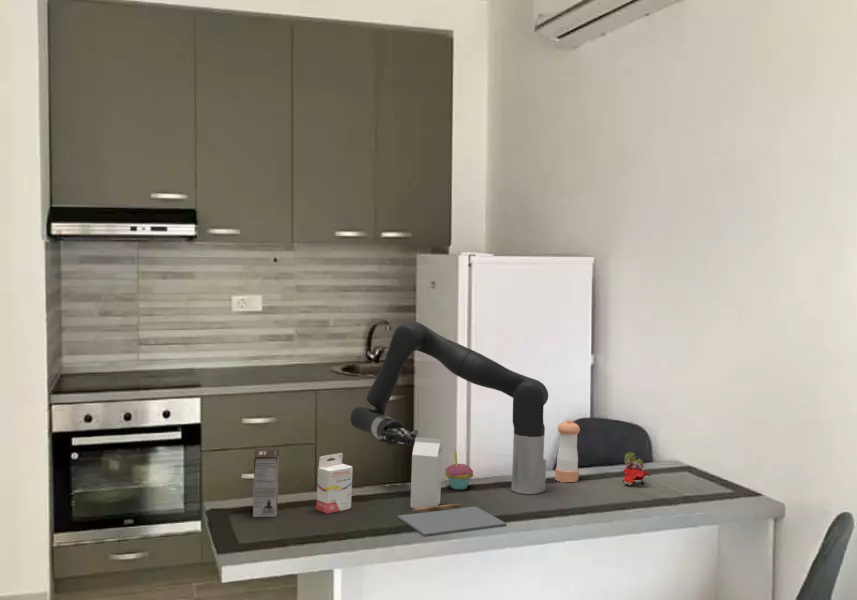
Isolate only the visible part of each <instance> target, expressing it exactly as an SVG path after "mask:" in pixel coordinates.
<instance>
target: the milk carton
mask: <svg viewBox="0 0 857 600" xmlns="http://www.w3.org/2000/svg"><path fill="white" fill-rule="evenodd" d="M442 455H443V449H442V445H441V439H440V438H439V439H438V438H427V437H426V438H425V437H418V438H415V444H414V446H413V449H412V455H411V476H410V477H411V478H410V480H411V481H410V508H411V509H415V508H424V507H433V506H440V504H441V487H442V482H441V481H442V462H443V461H442V458H443V456H442Z"/></svg>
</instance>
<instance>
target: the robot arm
mask: <svg viewBox="0 0 857 600" xmlns="http://www.w3.org/2000/svg"><path fill="white" fill-rule="evenodd" d="M417 351H418V352H419V353H424V354H425V355H428V356H431V357H432V358H434V359H436V360H437V361H438V362H439V363H441V364H442V365H443V366H444V367H445V368H446V369H447V370H448V371H449V372H450V373H452V374H453V375H456V376H457V377H458V378H461V379H463V380H465V381H467V382H469V383H471V384H474V385H476V386H480V387H484V388H488V389H492V390H495V391H498V392H501V393H503V394H505V395H507V396H509V397H511V398H512V425H513V440H512V441H513V442H512V444H513V445H512V446H513V447H512V466H511V467H512V468H511V470H512V471H511V490H512V491H513V492H515V493H517V494H518V493H519V494H524V495H537V494H540V493H542V492H546V474H547V473H546V472H547V470H546V469H547V459H545V458H544V456H545V455H544V454H545V453H544V452H545V433H546V432H545V431H546V429H545V425H544V407H545V404H546V403H547V402H548V400H549V392H548V389H547V387H546V385H544V383H542V382H541V381H540V380H537V379H536V378H535V379H534V378H532V377H529V376H525V375H524V374H520V373H518V372H515V371H513V370H510V369H508V368H507V367H505V366H504V365H502V364H499V362H497V361H494V360H493V359H491V358H489V357H487V356H485V355H483V354H481V353H480V352H477V351H476V350H473V349H471V348H469V347H466V346H464V345H461V344H460V343H457V342H455V341H452V340H450V339H448V338H446V337H444V336H442V335H440V334H438V333H437V332H435V331H434V330H432V329H431V328H429V327H427V326H425V325H424V324H422V323H421V322H418V321H408V322H404V323H403V324H402V323H401V324H400V325H398V326H397V327H396V328H395V330H394V332H393V334H392V336H391V340H390V343H389V347H388V350H387V352H386V355H385V358H384V361H383V363H382V365H381V368H380V370H379V371H378V374H377V375H376V377H375V379H374V381H373V383H372V385H371V387H370V389H369V391H368V393H367V395H366V400H367V402H368V403H369V404H370V405H371V406H372V407H375V408H374V409H372V408H369V407H364V406H357V407H354V408H353V410H352V411H351V413H350V418H349V419H350V420H349V421H350V423H351V425H352V427H353V428H355V429H357V430H360V431H363V432H366V433H369V434H371V435H372V436H373V437H375V438H377V439H378V440H379V441H380V442H382V443H384V444H387V445H389V446H394V445H397V444H401V445H404V444H405V445H406V446H408V447H414V444H415V438H419V431H418V430H417V429H416V430H413V431H411V432H410V430H408V429H405V426H404V425H403V424H402V423H401V422H400V421H398V420H397V419H394V418H392V417H390V416H387V415H385V414H386V410H387V406H388V404H389V401H390V399H391V397H392V396H393V394H394V392H395V389H396V387H397V384H398V381H399V377H400V374H401V371H402V368H403V366H404V364H405V363H406V361H407V360H408V358H409V357H410V356H411V355H412V354H413V353H414V352H417Z"/></svg>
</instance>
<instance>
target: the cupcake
mask: <svg viewBox="0 0 857 600" xmlns="http://www.w3.org/2000/svg"><path fill="white" fill-rule="evenodd" d="M457 452H458V451H456V449H454V463H455V464H454V463H453V464H451V465H449V466H448V467H446V469H445V473H444V474H445V476H446V477H447V478H448V482H449V485H450V489H451V488H452V490H461V491H462V490H465V489H467V488H468V484H469V482H470V479H472V478H473V477H474V470H473V469H472V468H471V467H470V466H469V465H468V464H465V463H458V453H457Z"/></svg>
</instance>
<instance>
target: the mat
mask: <svg viewBox="0 0 857 600" xmlns="http://www.w3.org/2000/svg"><path fill="white" fill-rule="evenodd" d="M397 519H399V520H400V521H401V522H403V523H405V525H407V526H409V527H410V528H412V529H413V530H414V531H416V532H417V533H418V534H420V535H422V536H423V537H429V536H438V535H445V534H452V533H454V534H455V533H459V532H460V533H461V532H468V531H476V530H477V531H478V530H484V529H493V528H499V527H506V526H507V525H508V524H507V522H505V521H503V520H502V519H499V518H498V517H496V516H494V515H493V514H491V513H489V512H487V511H485V510H483V509H481V508H480V507H478V506H470V507H469V506H468V507H462V508H461V507H459V509H450V510H442V511H433V512H425V513H416V514H412V513H410V514H409V513H408V514H401V515H400V514H399V515H397Z"/></svg>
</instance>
